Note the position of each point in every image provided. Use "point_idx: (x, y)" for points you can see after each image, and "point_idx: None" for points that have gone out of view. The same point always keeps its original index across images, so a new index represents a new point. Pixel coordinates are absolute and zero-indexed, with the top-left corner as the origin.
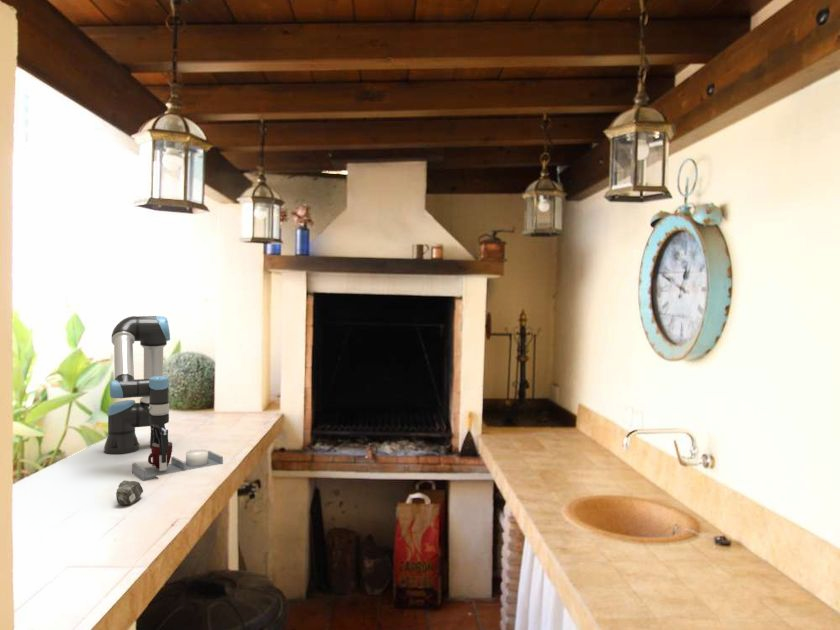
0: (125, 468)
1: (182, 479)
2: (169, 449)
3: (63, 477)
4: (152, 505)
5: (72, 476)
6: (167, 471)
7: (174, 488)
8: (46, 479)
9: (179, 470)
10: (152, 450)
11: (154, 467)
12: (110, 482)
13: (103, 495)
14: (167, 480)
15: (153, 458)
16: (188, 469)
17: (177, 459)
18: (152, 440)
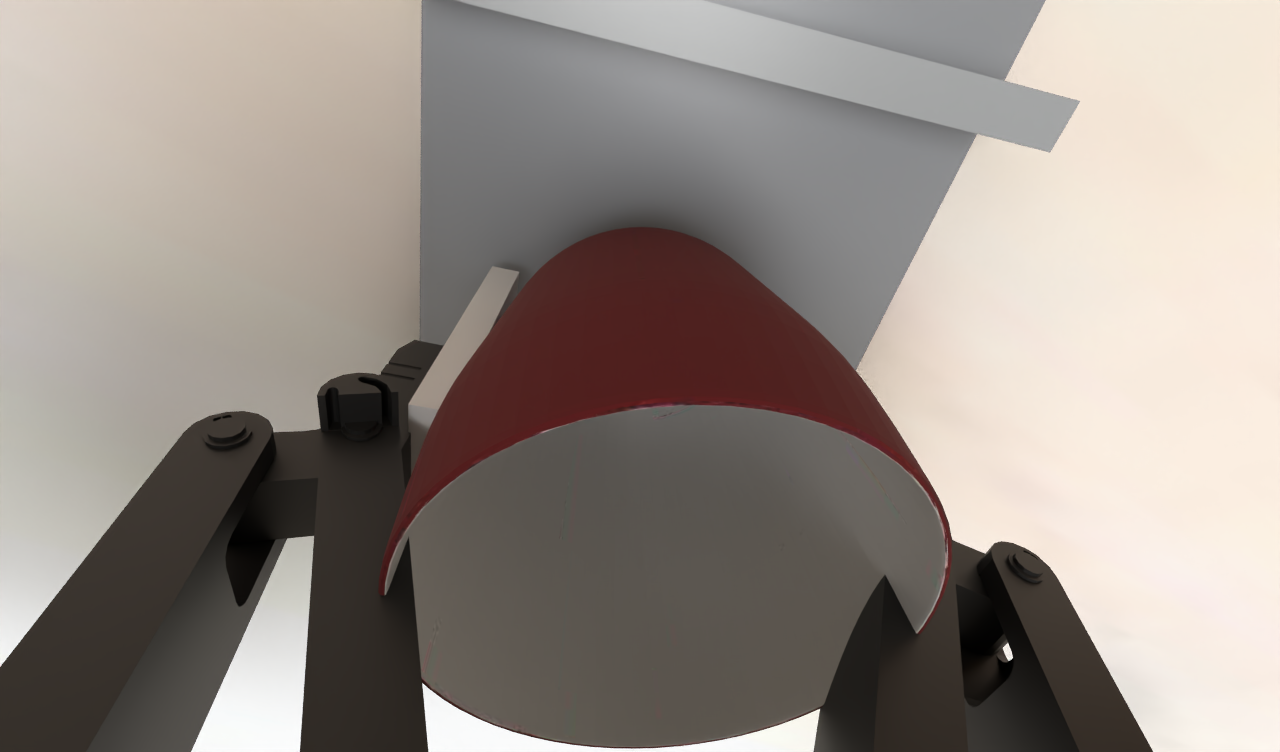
0: (177, 413)
1: (1124, 295)
2: (903, 482)
3: (223, 706)
4: (1264, 702)
5: (228, 681)
6: (787, 297)
7: (1221, 493)
8: (218, 748)
9: (907, 165)
10: (641, 653)
11: (467, 291)
12: None
13: (808, 734)
14: (969, 404)
15: (638, 513)
16: (1012, 26)
17: (689, 36)
18: (208, 681)
